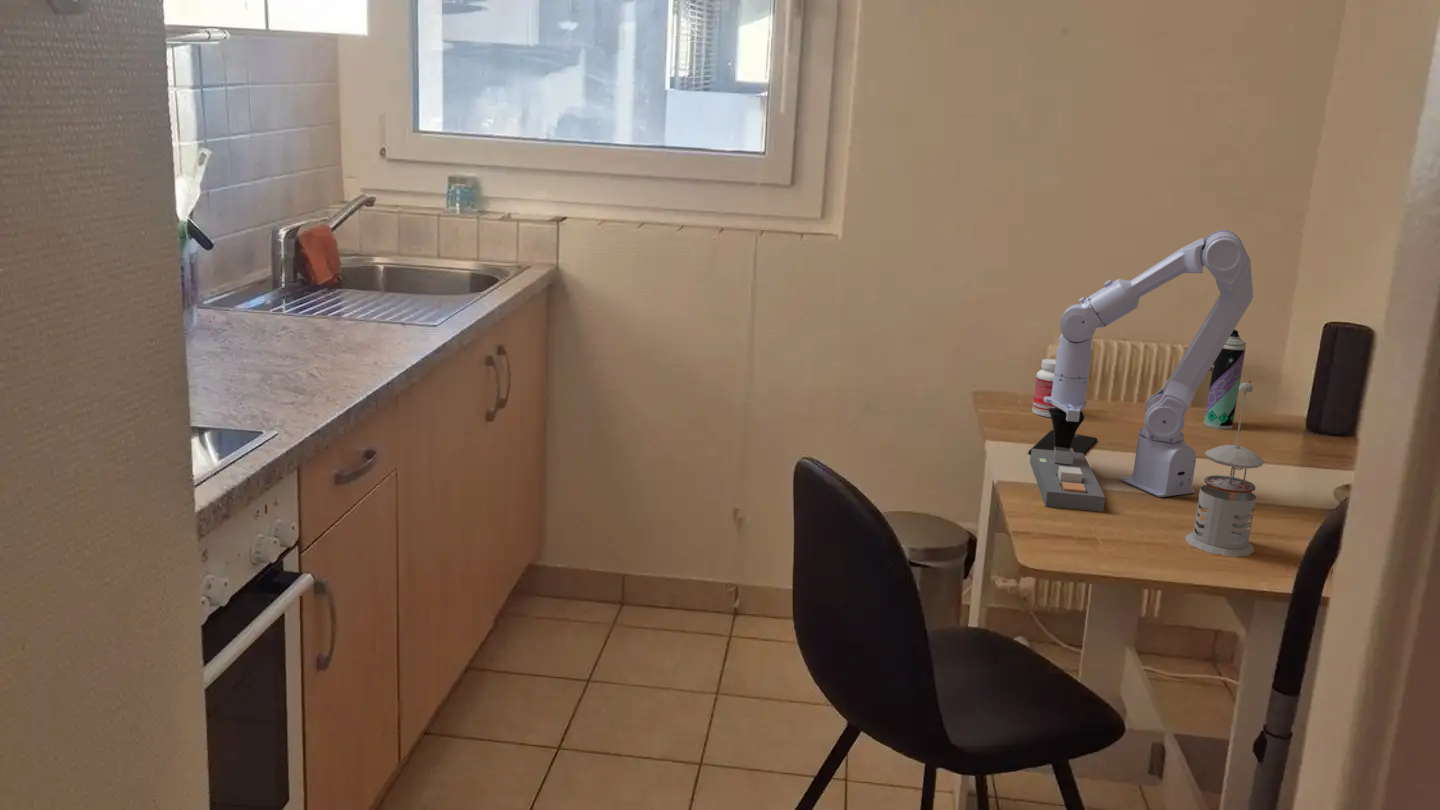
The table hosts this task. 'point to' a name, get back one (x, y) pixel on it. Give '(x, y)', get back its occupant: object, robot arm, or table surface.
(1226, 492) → the french press
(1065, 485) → the orange button
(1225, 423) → the spray can
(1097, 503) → the switch panel
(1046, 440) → the cell phone
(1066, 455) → the toggle knob
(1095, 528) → the table surface
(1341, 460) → the table surface
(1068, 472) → the grey button
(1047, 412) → the pill bottle
